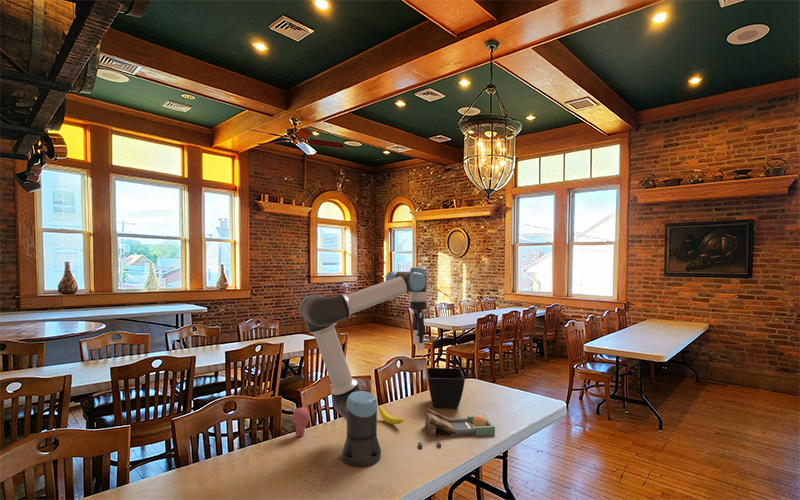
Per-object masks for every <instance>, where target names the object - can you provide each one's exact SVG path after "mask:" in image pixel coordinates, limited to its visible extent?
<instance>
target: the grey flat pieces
mask: <svg viewBox="0 0 800 500" xmlns="http://www.w3.org/2000/svg"><path fill="white" fill-rule="evenodd" d="M417 443H418V444H417V446H418V448H419V449H423V443H422V442H421V441H418V442H417ZM436 445H437V447H438V449H439V448H440V449H441V448H442V443H441V441H439V440H437V441H436Z"/></svg>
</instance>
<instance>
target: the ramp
mask: <svg viewBox="0 0 800 500" xmlns="http://www.w3.org/2000/svg"><path fill="white" fill-rule="evenodd" d="M450 419H451V418H448V417H446V416H444V415H443V414H440V413H438V412H436V411H434V410H431V409H430V408H428V407H427V408H426V410H425V411H424V421H425V422H424V426H425V429H426V431H427V434H428V436H429V438H436V435H437V433H436V430H437V429H440V430H442V431H444V432H447V434H448V435H449V437H456V436H455V433H456V432H455V430H456V429H455V428H453V427H452V426H451V424H450V422H449V420H450ZM436 428H437V429H436Z"/></svg>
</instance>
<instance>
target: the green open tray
mask: <svg viewBox="0 0 800 500" xmlns="http://www.w3.org/2000/svg"><path fill="white" fill-rule="evenodd" d="M475 416H476V415H467V416H466V418H468V419H470V423H471V424H472V426H473V427H474V428H475V435H474V436H475V437H480V436H482V437H483V436H495V435H496V427H495V425H494V424H493V423H492V422H491V420H490V419H489V418H488V417H487V416H486V414H482V416H484V417H485V419H486V426H479V427H475V426H474V424H473V419H474V417H475Z"/></svg>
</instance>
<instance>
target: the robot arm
mask: <svg viewBox="0 0 800 500" xmlns="http://www.w3.org/2000/svg"><path fill="white" fill-rule="evenodd" d="M427 279H428V276H427V268H426V267H418V266H417V267H415V266H414V267H411V268H410V269H409V271H390V272H389V271H388V273H386V275H385V281H383V282H380V283H377V284H373V285H371V286H369V287H365V288H362V289H359V290H357V291H354V292H351V293H348V294H345V295H344V294H343V293H340V294H337V295H332V296H325V295H322V294H317V293H316V294H310V295H308V296H305V297H304V298H303V300H301V303H300V306H299V313H300V316H301V318H302V319H303V320H304V322H305V325H306V327H307V330H308V332H309V333H310V334H311V335H314V338H315V341H316V343H317V346H318V349H319V351H320V354H321V357H322V358H321V359H322V360H323V363H324V365H325V369H326V372H327V374H328V376H329V380H330V382H331V385H332V387H331V389H330V393H331V395H332V404H333V408H334V409H335V410H336V412H337V413H338V414H339V415H340V416H341V417H342V418H343V419H344V420H345V421H346V438H345V441H344V444H343V447H342V450H341V460H342V461H343V463H344V464H346V465H348V466H351V467H360V468H361V467H362V468H363V467H368V466H372V465H374V464H376V463H378V462H380V460H381V458H382V449H381V446H380V443H379V439H378V435H377V433H378V431H377V427H378V426H377V423H378V403H377V401H378V400H377V397H376V396H375V395H374V394H373V393H372V392H367V391H366V390H365V391H364V390H361V387H360V385H359V383H358V380H357V379H356V378H353V377H352V373H351V371H350V367H349V365H348V361H347V359H346V357H345V353H344V351H343V349H342V345H341V343H340V339H339V337H338V335H337V331H336V327H335V326H336V324H337V323H339V322H341V321H345V320H347V319H349V318H350V317H351V315H352V314H355V313H357V312H360V311H363V310H365V309H367V308H368V309H369V308H371V307H372V306H375V305H378V304H381V303H384V302H387V301H389V300H391V299H394V298H397V297H399V296H402V295H405V294H408V293H409V300H410V302H409V304H410V305H409V306H410V307H409V308H410V310H412V311H413V316H412V317H413V318H412V344H413V345H417V351H424V350H425V335H426V331H425V321H424V320H425V319H424V318H425V317H424V315H425V313H424V312H423V311H425V310H427V296H428V293H427V284H428V283H427Z"/></svg>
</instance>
